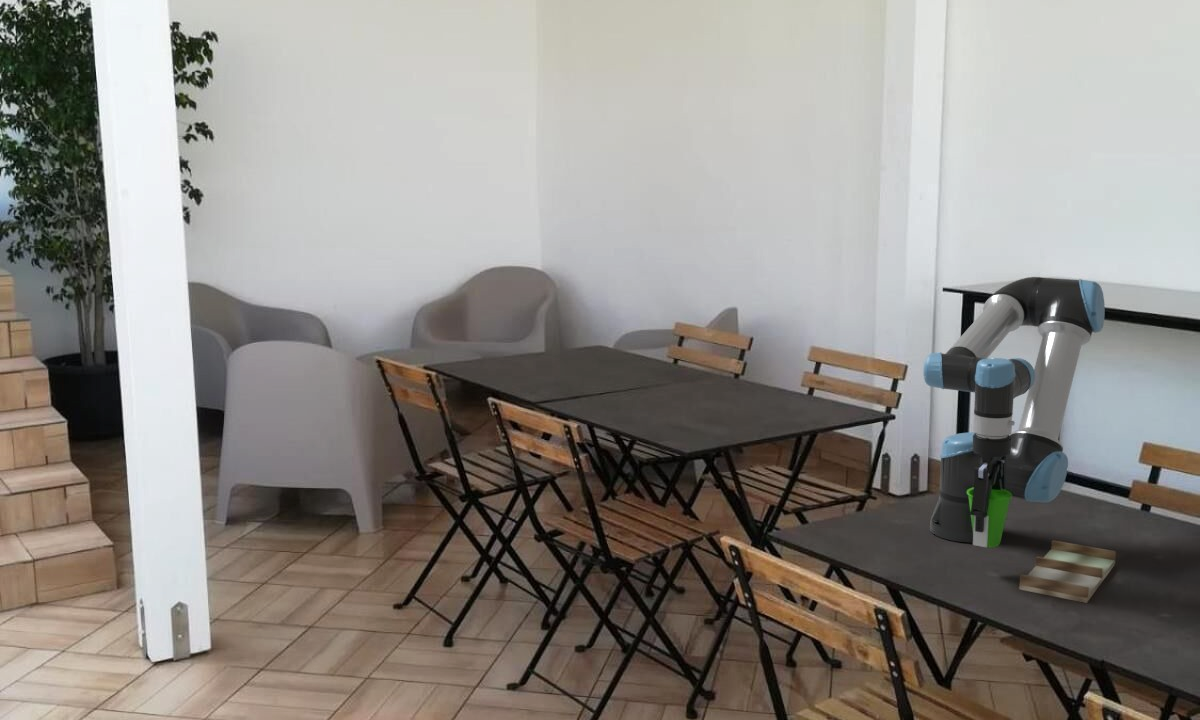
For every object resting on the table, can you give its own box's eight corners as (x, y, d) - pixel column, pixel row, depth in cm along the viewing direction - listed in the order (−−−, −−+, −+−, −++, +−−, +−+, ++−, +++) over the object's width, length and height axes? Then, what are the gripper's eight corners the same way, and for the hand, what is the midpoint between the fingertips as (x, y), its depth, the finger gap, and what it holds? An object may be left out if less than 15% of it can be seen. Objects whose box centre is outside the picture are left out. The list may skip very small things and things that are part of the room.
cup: (1004, 536, 255) (1006, 486, 253) (1014, 551, 247) (1016, 500, 244) (960, 535, 256) (962, 485, 254) (969, 550, 247) (971, 499, 245)
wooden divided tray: (1019, 589, 244) (1020, 575, 243) (1051, 553, 264) (1052, 540, 264) (1086, 602, 236) (1087, 588, 236) (1114, 564, 257) (1115, 551, 257)
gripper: (994, 449, 236) (989, 558, 240) (1025, 424, 253) (1020, 526, 258) (956, 444, 240) (952, 551, 245) (989, 420, 258) (984, 520, 262)
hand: (987, 538), depth 251 cm, fingers closed on cup, 9 cm apart
